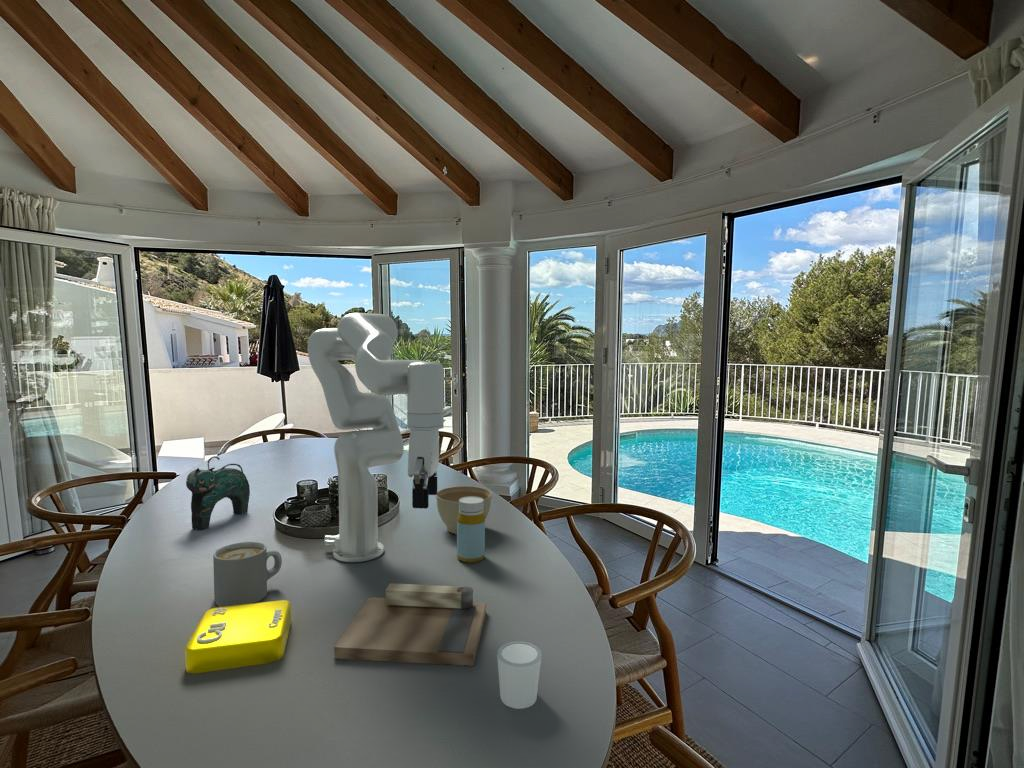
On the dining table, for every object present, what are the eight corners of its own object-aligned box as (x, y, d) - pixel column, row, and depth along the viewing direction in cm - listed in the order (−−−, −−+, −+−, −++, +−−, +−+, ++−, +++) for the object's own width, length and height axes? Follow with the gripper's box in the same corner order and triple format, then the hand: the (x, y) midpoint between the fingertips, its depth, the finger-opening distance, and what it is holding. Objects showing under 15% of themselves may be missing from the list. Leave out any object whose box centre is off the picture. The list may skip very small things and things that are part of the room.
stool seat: (334, 658, 91) (334, 645, 91) (369, 606, 109) (369, 596, 109) (473, 666, 89) (473, 653, 89) (485, 612, 107) (486, 601, 107)
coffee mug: (218, 612, 105) (217, 563, 105) (211, 593, 113) (210, 547, 113) (289, 594, 113) (288, 549, 113) (278, 578, 121) (277, 535, 121)
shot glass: (495, 683, 85) (495, 641, 84) (537, 681, 85) (538, 639, 85) (497, 712, 78) (498, 667, 77) (544, 710, 79) (545, 665, 78)
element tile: (282, 663, 90) (282, 636, 90) (181, 677, 86) (181, 649, 85) (292, 619, 104) (292, 595, 104) (206, 629, 100) (206, 605, 100)
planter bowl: (425, 534, 150) (425, 497, 149) (452, 518, 165) (452, 483, 164) (476, 543, 144) (476, 504, 143) (499, 525, 159) (500, 489, 158)
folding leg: (473, 601, 107) (474, 586, 106) (471, 609, 103) (471, 594, 103) (390, 597, 108) (390, 583, 108) (385, 605, 105) (385, 590, 104)
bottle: (480, 564, 130) (481, 504, 129) (453, 562, 132) (453, 502, 131) (487, 554, 137) (488, 497, 136) (461, 551, 139) (462, 495, 137)
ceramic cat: (198, 532, 149) (196, 462, 148) (181, 530, 151) (179, 460, 150) (253, 512, 168) (252, 449, 166) (237, 509, 170) (236, 448, 168)
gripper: (416, 415, 120) (416, 489, 121) (397, 426, 103) (397, 513, 104) (449, 415, 120) (449, 490, 121) (435, 427, 102) (435, 514, 104)
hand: (425, 500), depth 112 cm, fingers open, 9 cm apart
